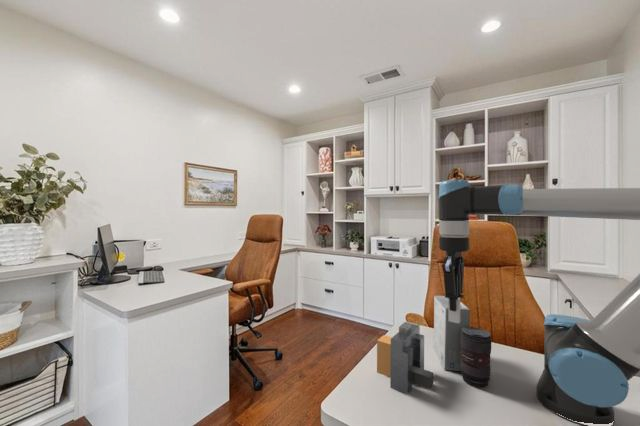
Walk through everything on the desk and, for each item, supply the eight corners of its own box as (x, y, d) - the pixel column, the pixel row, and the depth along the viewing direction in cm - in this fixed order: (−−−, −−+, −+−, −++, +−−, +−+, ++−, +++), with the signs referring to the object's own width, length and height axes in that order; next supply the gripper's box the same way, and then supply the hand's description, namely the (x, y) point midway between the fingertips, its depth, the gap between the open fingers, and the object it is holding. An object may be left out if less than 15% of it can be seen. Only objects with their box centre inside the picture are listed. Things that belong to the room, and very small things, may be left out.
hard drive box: (470, 373, 89) (470, 309, 89) (444, 370, 90) (445, 308, 90) (454, 349, 104) (455, 295, 104) (432, 347, 105) (433, 294, 105)
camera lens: (495, 391, 79) (496, 338, 79) (464, 387, 81) (465, 335, 81) (485, 375, 87) (485, 327, 87) (457, 372, 89) (457, 324, 89)
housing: (424, 370, 90) (424, 320, 90) (407, 394, 78) (407, 336, 78) (408, 365, 93) (408, 316, 93) (390, 387, 81) (390, 332, 81)
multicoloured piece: (434, 383, 83) (434, 349, 83) (429, 391, 79) (429, 356, 79) (383, 365, 93) (383, 334, 93) (376, 371, 89) (377, 340, 89)
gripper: (447, 234, 85) (447, 312, 85) (431, 236, 75) (432, 325, 75) (474, 235, 80) (475, 318, 80) (462, 238, 70) (462, 332, 70)
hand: (454, 321), depth 78 cm, fingers closed
